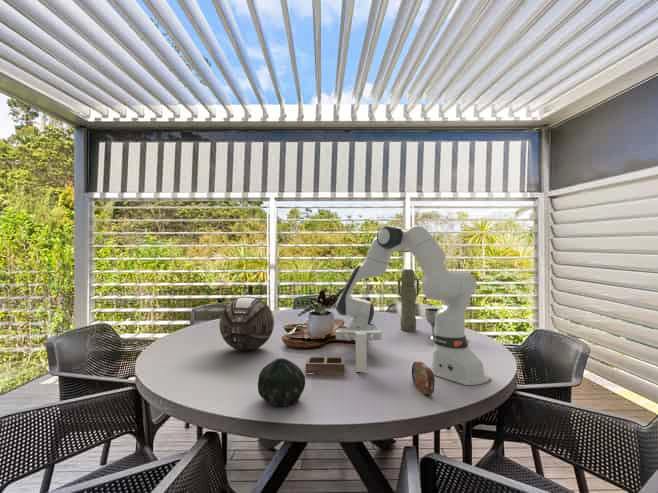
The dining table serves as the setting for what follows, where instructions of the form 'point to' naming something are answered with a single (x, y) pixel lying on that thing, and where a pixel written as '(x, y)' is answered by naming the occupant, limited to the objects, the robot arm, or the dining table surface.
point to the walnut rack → (325, 365)
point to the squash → (281, 382)
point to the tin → (423, 377)
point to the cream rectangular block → (361, 351)
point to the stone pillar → (408, 300)
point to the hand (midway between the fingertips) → (359, 338)
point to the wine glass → (431, 320)
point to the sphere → (246, 323)
